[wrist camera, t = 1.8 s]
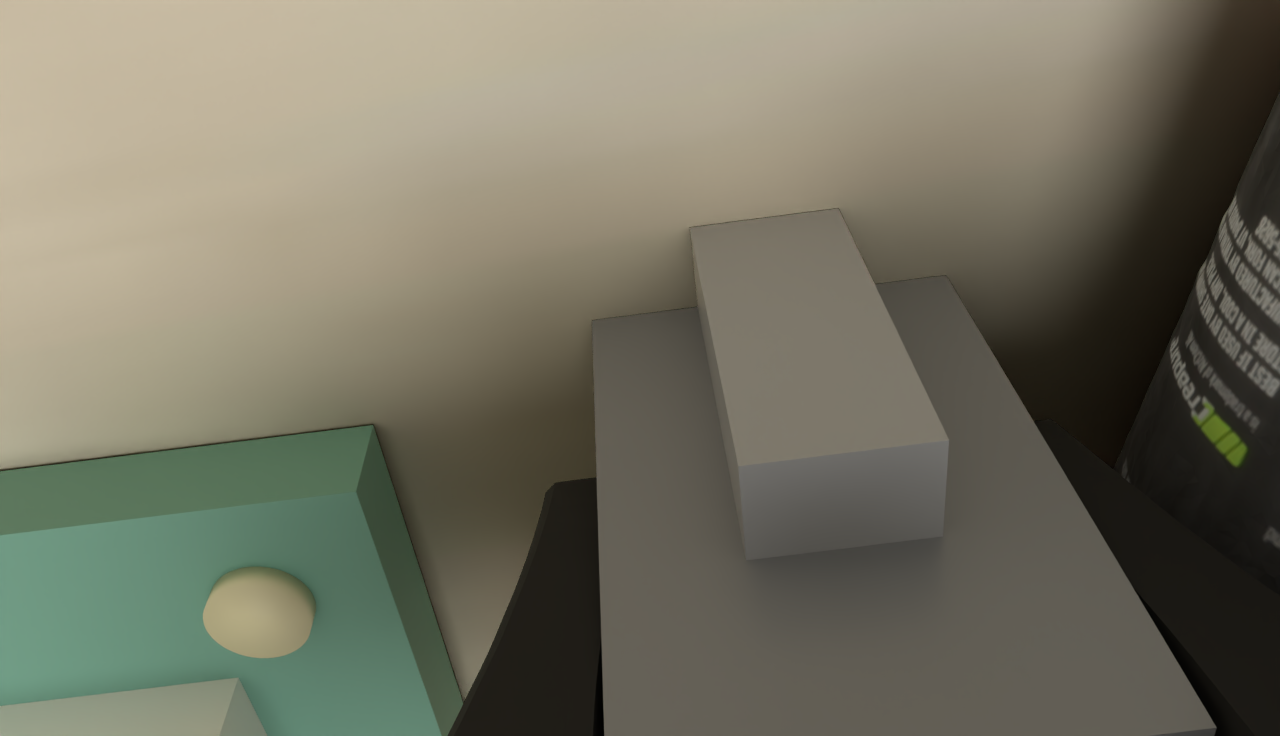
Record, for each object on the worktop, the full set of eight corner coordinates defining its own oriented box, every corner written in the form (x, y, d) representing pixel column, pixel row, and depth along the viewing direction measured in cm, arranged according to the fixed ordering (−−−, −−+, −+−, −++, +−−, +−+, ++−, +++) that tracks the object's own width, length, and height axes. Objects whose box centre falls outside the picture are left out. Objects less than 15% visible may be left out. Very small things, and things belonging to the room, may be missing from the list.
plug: (931, 535, 14) (1126, 1016, 9) (634, 571, 14) (667, 1069, 9) (950, 194, 11) (1249, 623, 6) (578, 242, 11) (583, 702, 6)
